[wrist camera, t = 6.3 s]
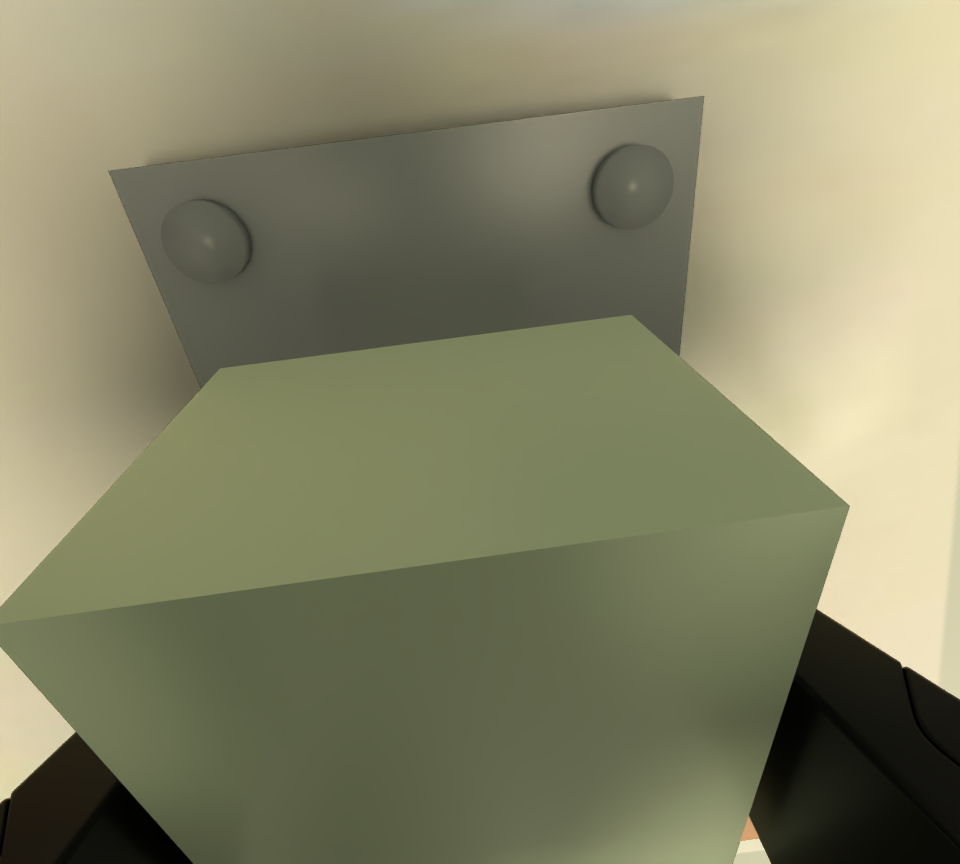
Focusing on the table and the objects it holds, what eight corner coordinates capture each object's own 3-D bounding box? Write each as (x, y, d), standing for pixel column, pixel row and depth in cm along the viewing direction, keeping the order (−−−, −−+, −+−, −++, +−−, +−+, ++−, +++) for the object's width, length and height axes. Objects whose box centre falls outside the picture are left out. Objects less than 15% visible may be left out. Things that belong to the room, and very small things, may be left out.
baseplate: (644, 511, 18) (667, 551, 16) (299, 559, 17) (284, 605, 16) (674, 100, 12) (716, 94, 10) (145, 167, 11) (94, 172, 10)
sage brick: (618, 600, 10) (730, 872, 7) (326, 641, 10) (265, 943, 6) (631, 314, 7) (849, 506, 4) (219, 368, 7) (-17, 625, 3)
